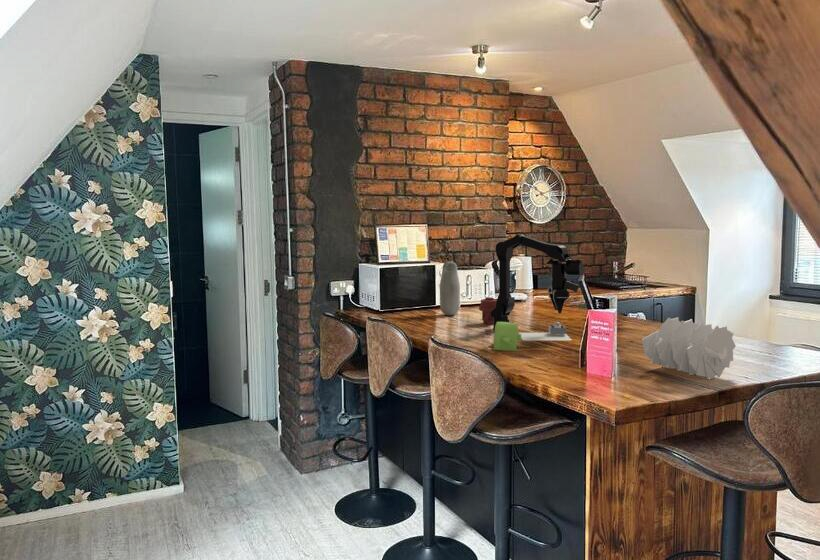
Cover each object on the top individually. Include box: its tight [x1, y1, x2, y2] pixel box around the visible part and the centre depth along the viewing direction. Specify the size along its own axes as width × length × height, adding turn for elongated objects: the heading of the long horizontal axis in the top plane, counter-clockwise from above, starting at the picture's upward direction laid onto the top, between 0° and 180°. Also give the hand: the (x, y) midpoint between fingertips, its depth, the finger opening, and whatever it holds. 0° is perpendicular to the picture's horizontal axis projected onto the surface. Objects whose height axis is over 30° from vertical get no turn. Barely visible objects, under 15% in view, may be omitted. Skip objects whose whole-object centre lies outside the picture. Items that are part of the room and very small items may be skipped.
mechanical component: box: [478, 296, 497, 326], centre depth 309 cm, size 12×10×10 cm
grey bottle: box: [439, 260, 461, 317], centre depth 334 cm, size 10×10×28 cm
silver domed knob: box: [550, 321, 565, 336], centre depth 277 cm, size 6×6×5 cm
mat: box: [518, 332, 573, 342], centre depth 273 cm, size 20×17×1 cm
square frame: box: [547, 324, 567, 334], centre depth 277 cm, size 7×7×2 cm
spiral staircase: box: [641, 317, 737, 380], centre depth 210 cm, size 18×18×25 cm
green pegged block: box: [493, 321, 522, 352], centre depth 252 cm, size 18×10×10 cm, turn 168°
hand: (558, 311), depth 276 cm, fingers open, 9 cm apart
